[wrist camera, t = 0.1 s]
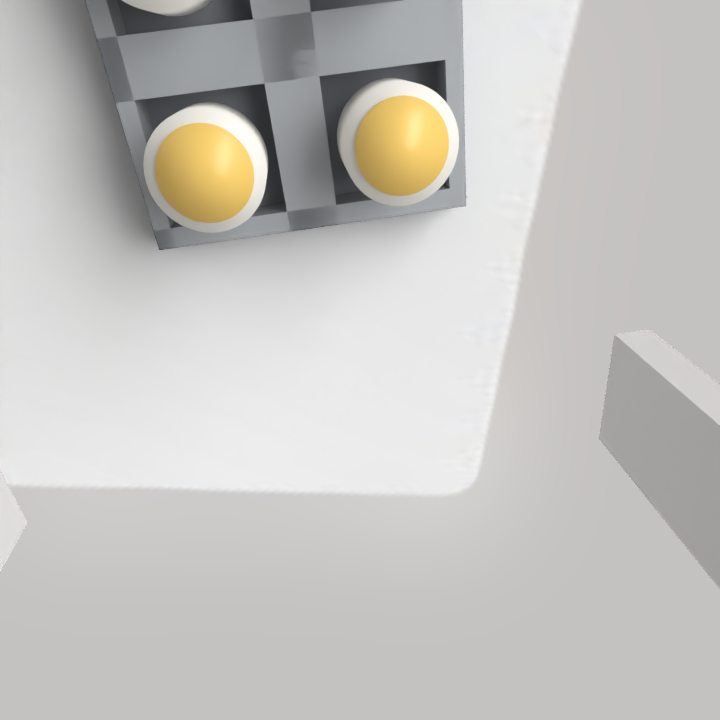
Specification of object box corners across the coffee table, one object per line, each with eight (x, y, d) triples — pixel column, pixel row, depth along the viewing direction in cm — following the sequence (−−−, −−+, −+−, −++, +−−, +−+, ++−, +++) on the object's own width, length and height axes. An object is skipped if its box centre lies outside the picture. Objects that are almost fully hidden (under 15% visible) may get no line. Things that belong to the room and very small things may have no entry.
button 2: (329, 85, 31) (336, 90, 27) (438, 71, 31) (459, 74, 27) (343, 196, 34) (350, 214, 30) (442, 182, 34) (462, 199, 30)
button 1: (145, 109, 30) (125, 118, 27) (256, 95, 31) (252, 101, 27) (175, 220, 33) (161, 241, 29) (277, 205, 33) (276, 225, 30)
